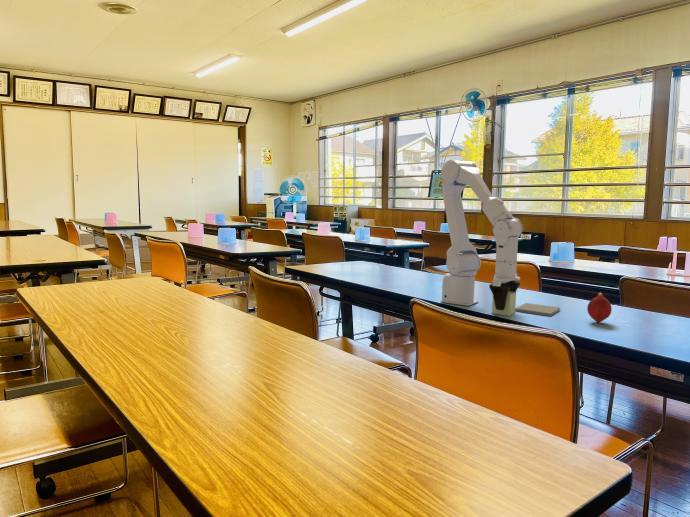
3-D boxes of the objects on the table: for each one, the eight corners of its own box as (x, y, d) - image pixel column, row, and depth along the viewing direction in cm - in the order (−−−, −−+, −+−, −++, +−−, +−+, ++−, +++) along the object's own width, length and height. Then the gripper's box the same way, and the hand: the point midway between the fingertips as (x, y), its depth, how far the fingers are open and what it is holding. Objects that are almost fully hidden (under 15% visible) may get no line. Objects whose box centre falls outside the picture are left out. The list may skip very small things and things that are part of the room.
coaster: (515, 311, 148) (515, 308, 148) (525, 305, 156) (525, 302, 156) (550, 316, 142) (550, 313, 142) (559, 310, 150) (560, 307, 150)
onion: (613, 325, 133) (615, 295, 132) (589, 324, 134) (591, 294, 133) (606, 320, 138) (609, 291, 137) (584, 319, 139) (586, 290, 138)
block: (491, 313, 146) (492, 292, 145) (498, 310, 150) (499, 290, 149) (509, 315, 143) (510, 294, 142) (515, 312, 147) (516, 292, 146)
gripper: (511, 264, 136) (509, 314, 138) (528, 259, 148) (525, 305, 149) (486, 262, 140) (484, 310, 142) (504, 257, 152) (502, 302, 154)
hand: (503, 307), depth 146 cm, fingers open, 6 cm apart
